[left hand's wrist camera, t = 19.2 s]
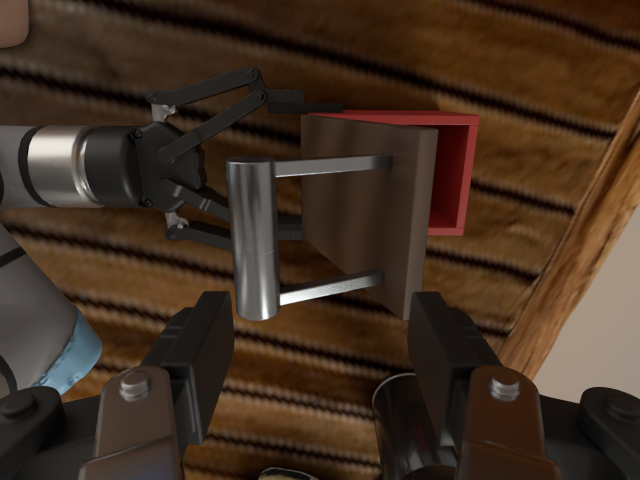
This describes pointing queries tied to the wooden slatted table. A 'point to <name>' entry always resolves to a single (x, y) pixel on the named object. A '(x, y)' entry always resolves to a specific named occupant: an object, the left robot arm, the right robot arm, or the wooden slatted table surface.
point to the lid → (337, 213)
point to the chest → (438, 159)
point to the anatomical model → (13, 22)
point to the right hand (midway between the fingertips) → (341, 168)
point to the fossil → (284, 475)
